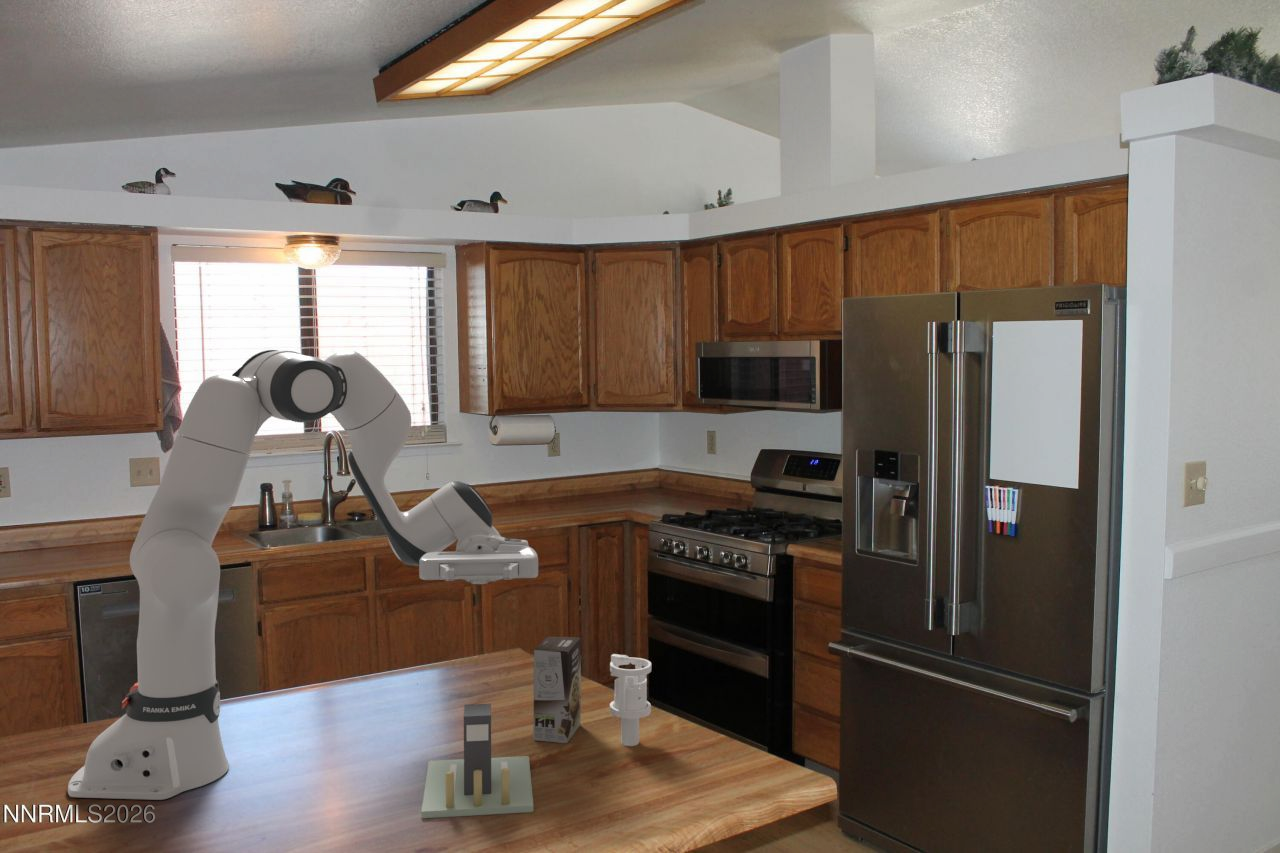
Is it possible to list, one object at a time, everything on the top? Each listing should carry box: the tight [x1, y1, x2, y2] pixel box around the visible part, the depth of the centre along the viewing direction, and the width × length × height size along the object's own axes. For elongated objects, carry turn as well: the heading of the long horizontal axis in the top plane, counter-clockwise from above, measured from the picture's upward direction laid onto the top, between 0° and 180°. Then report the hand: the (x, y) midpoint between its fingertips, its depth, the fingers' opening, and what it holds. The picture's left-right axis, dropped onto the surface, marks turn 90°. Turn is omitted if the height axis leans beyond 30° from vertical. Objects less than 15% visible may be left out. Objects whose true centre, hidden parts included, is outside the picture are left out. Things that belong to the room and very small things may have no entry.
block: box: [463, 703, 492, 795], centre depth 153 cm, size 4×5×12 cm
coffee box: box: [532, 635, 582, 744], centre depth 178 cm, size 9×6×16 cm
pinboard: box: [420, 755, 534, 819], centre depth 156 cm, size 16×18×6 cm
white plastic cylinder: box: [609, 653, 652, 747], centre depth 174 cm, size 7×7×15 cm
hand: (478, 575), depth 169 cm, fingers open, 8 cm apart
